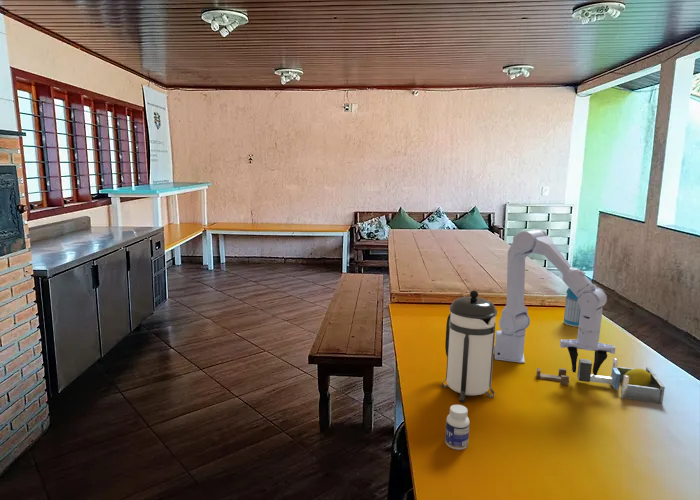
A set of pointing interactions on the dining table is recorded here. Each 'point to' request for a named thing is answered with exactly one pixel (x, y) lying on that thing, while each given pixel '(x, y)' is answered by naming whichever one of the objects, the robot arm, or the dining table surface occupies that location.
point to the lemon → (638, 377)
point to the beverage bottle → (572, 309)
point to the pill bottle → (457, 427)
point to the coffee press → (470, 345)
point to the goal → (642, 393)
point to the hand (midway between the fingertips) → (584, 372)
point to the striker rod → (586, 375)
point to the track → (560, 377)
